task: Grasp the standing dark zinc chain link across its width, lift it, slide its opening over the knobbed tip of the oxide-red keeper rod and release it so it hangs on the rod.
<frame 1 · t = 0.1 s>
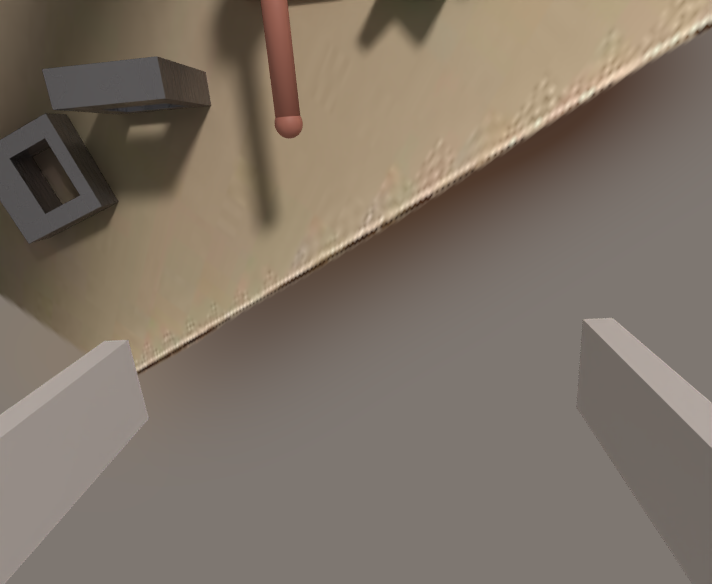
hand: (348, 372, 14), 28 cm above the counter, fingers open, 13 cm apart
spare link: (57, 178, 41), on the counter
link: (161, 93, 38), on the counter
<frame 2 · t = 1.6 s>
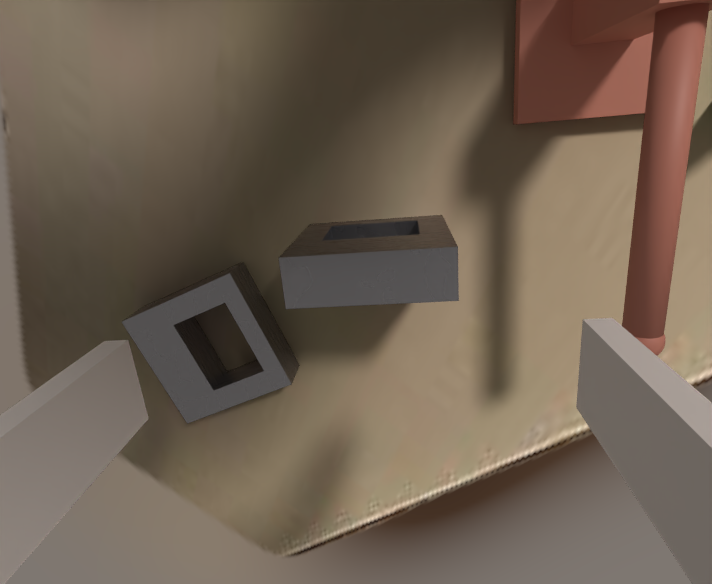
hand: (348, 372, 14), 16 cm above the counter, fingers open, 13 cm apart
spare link: (221, 336, 32), on the counter
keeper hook: (596, 13, 24), on the counter
link: (376, 239, 29), on the counter
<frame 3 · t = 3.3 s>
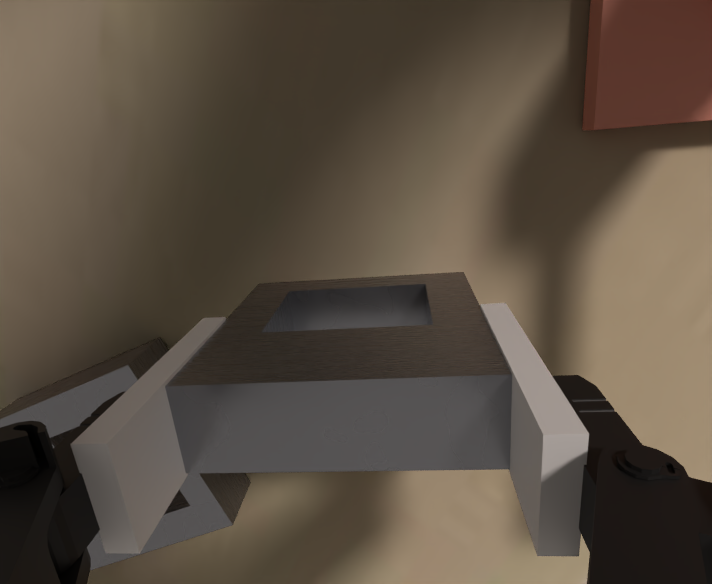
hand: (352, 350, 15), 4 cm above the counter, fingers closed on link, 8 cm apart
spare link: (134, 441, 22), on the counter
link: (361, 308, 19), on the counter, touching gripper
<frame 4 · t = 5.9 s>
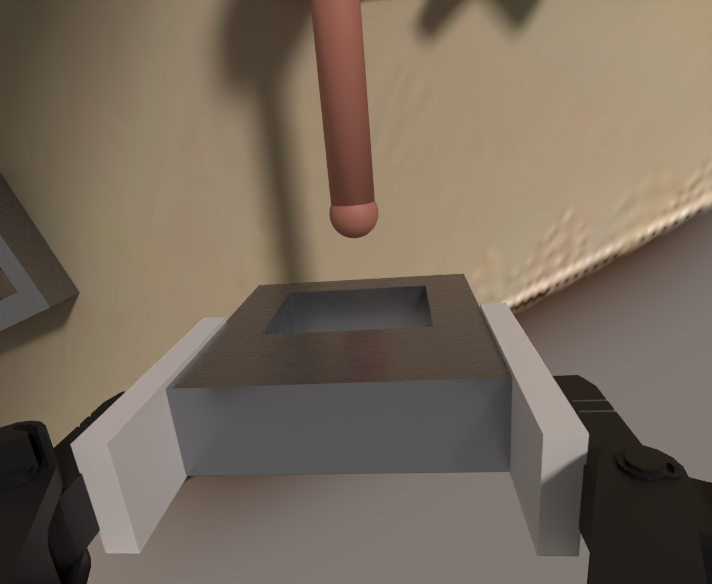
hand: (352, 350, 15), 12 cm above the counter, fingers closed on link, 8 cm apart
link: (361, 309, 19), point 8 cm above the counter, touching gripper
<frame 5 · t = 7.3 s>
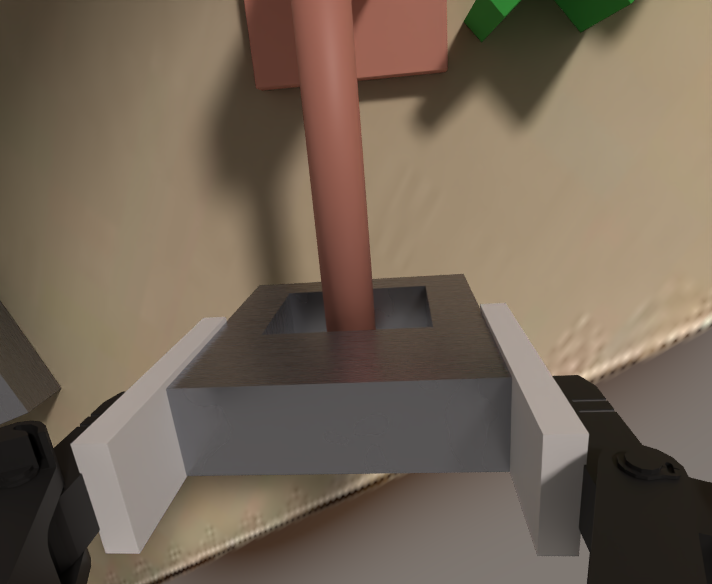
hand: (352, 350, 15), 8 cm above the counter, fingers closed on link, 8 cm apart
link: (361, 309, 19), point 5 cm above the counter, touching gripper
when the fingers open (9 cm above the counter, at t = 8.5 s): link drops 1 cm, resting on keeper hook.
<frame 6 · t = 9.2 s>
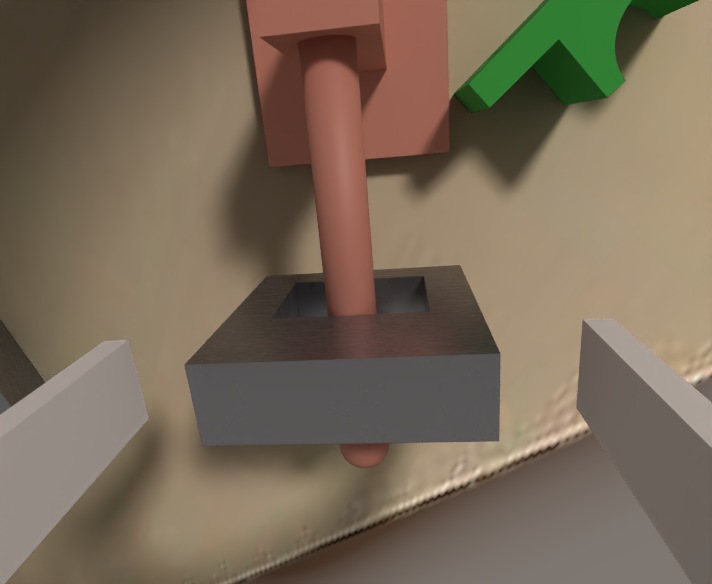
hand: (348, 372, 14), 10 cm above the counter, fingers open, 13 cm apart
pipe clamp: (580, 23, 19), on the counter
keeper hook: (349, 37, 20), on the counter
link: (363, 299, 20), point 4 cm above the counter, touching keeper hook
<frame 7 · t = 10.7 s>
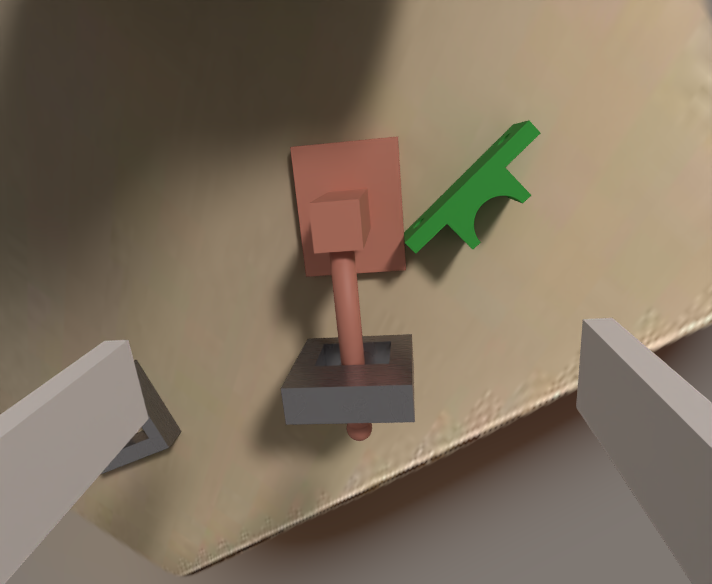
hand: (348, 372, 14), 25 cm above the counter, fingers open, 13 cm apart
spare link: (124, 410, 44), on the counter
pipe clamp: (470, 197, 36), on the counter
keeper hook: (350, 208, 37), on the counter
link: (360, 351, 36), point 4 cm above the counter, touching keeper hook
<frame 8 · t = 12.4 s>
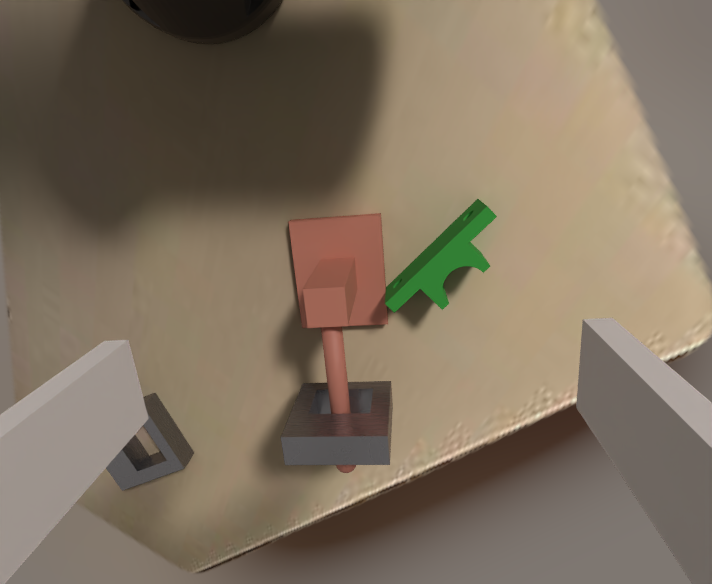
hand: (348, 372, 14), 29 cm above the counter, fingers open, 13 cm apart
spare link: (144, 435, 50), on the counter
pipe clamp: (442, 257, 42), on the counter
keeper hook: (340, 271, 43), on the counter
link: (347, 394, 42), point 4 cm above the counter, touching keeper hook
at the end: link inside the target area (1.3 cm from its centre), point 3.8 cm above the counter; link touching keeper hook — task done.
